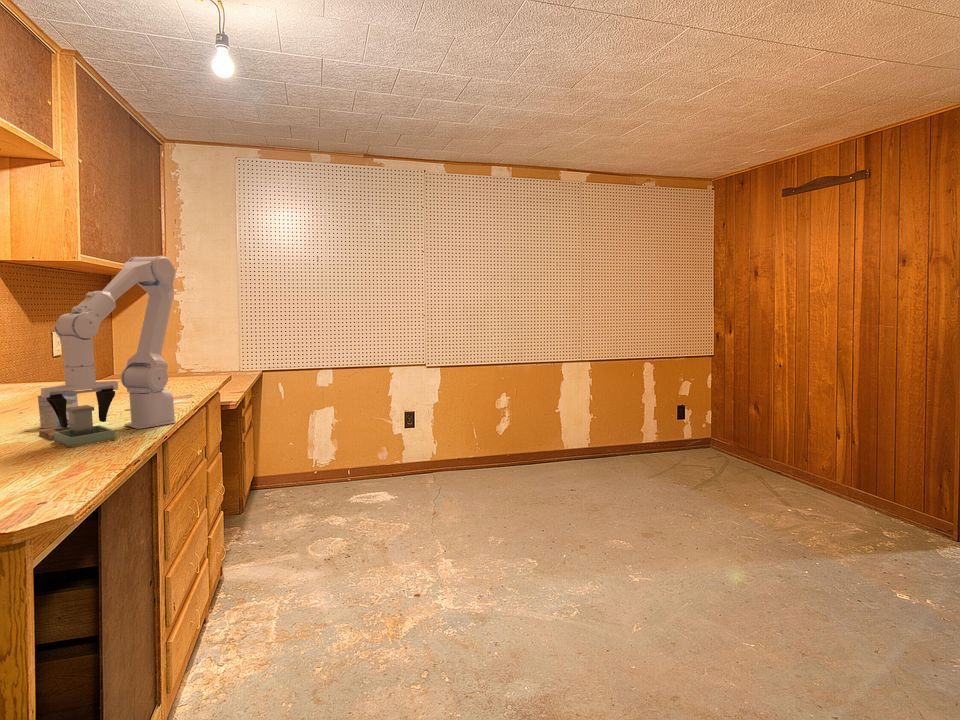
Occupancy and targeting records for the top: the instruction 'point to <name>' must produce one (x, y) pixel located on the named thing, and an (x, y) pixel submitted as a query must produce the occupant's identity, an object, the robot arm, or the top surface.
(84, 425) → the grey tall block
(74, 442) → the tray
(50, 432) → the collar
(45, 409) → the medicine box
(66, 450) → the top surface
